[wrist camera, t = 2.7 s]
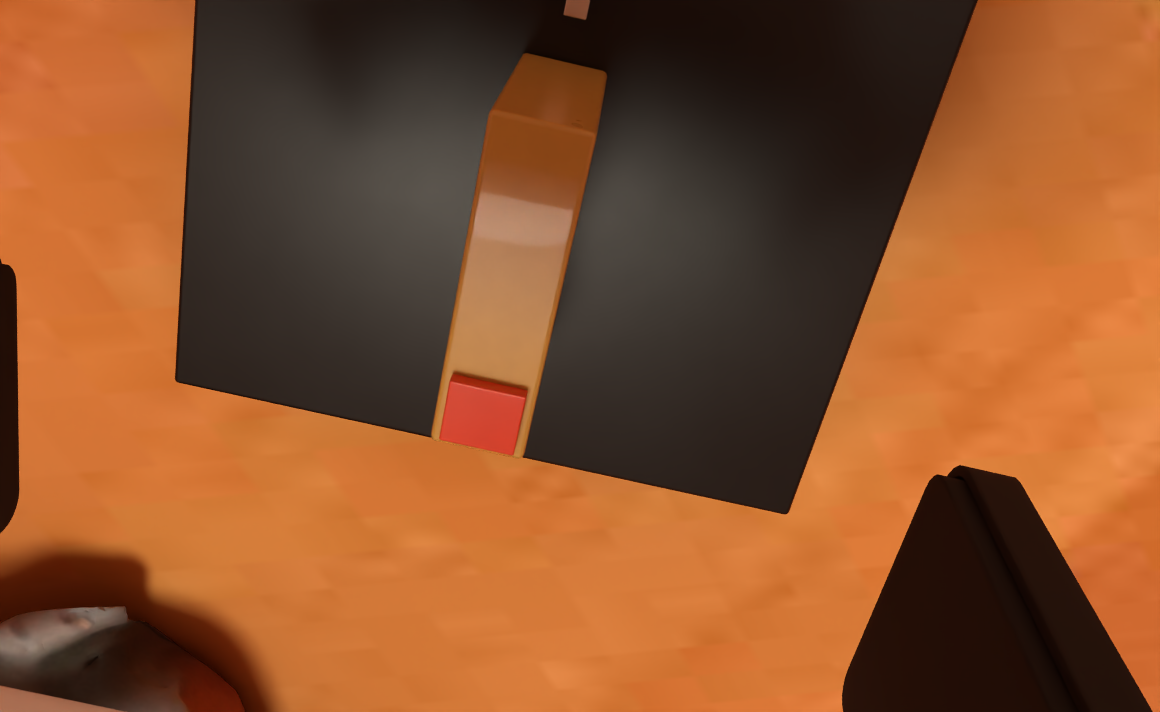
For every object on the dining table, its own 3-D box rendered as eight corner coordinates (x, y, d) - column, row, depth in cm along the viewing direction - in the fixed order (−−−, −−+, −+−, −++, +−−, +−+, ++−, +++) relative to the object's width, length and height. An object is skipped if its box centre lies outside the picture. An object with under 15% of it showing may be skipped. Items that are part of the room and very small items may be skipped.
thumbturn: (522, 51, 17) (486, 113, 13) (608, 71, 17) (596, 139, 13) (470, 328, 19) (426, 450, 15) (546, 344, 19) (520, 470, 16)
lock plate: (269, -196, 18) (199, -202, 16) (936, -35, 19) (987, -12, 16) (229, 318, 23) (169, 386, 20) (772, 437, 23) (788, 521, 21)
